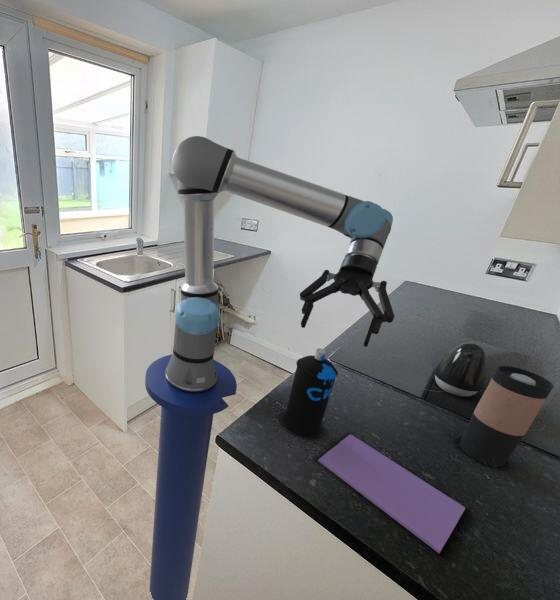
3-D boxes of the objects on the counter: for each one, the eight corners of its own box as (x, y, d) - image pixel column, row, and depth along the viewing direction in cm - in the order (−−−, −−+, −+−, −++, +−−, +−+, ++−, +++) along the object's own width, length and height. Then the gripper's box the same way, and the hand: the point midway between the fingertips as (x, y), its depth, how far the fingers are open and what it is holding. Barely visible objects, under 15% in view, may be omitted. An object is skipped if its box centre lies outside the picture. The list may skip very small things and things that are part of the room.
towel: (318, 461, 64) (318, 458, 63) (349, 435, 71) (350, 433, 70) (439, 553, 48) (440, 551, 48) (464, 510, 55) (465, 507, 55)
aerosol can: (275, 416, 75) (292, 344, 68) (301, 409, 78) (319, 339, 71) (301, 441, 68) (323, 363, 61) (328, 432, 71) (352, 357, 64)
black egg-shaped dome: (426, 389, 89) (447, 342, 84) (432, 375, 96) (451, 331, 90) (475, 407, 82) (500, 358, 77) (477, 392, 89) (501, 345, 84)
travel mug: (452, 434, 73) (489, 361, 65) (495, 447, 70) (539, 372, 62) (465, 458, 66) (508, 380, 59) (513, 474, 63) (565, 393, 56)
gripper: (418, 281, 75) (393, 359, 69) (309, 261, 89) (281, 324, 83) (426, 263, 69) (399, 347, 63) (308, 245, 83) (278, 312, 78)
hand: (332, 334), depth 73 cm, fingers open, 13 cm apart
